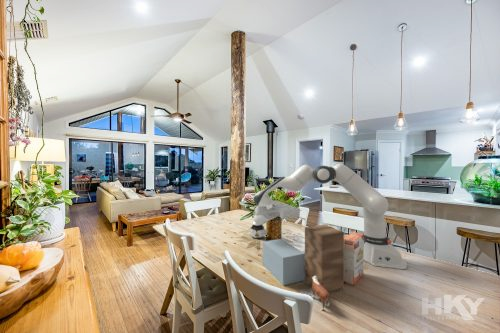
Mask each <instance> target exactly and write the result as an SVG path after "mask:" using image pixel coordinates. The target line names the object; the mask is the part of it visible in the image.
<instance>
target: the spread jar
mask: <svg viewBox="0 0 500 333" xmlns="http://www.w3.org/2000/svg"><path fill="white" fill-rule="evenodd" d="M266 229H267V228H266V227H265V226H264V224H263V225H258V224H256V223H255V222H254V221H253V222H252V226H251V227H250V235H251V237H252V238H253V239H254V240H261V239H263V238H264V237H267V236H266Z"/></svg>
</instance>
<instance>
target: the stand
mask: <svg viewBox="0 0 500 333" xmlns="http://www.w3.org/2000/svg"><path fill="white" fill-rule="evenodd" d="M344 234H345V232H344V231H343V230H340V229H337V228H335V227H333V226H329V225H327V224H322V225H321V224H320V225H314V226H307V227H304V254H305V280H304V282H305V283H306V284H307V285H309V287H311V288H312V281H313V279H310V277H313V276H317V278H318V279H321V280H320V281H319V280H318V282H319V283H320V284H321V285H322V286H323V287H324V288H325V289H326V290H327V292H328V293H329V294H332V293H335V292H339V291H342V290H344V282H343V276H344V238H345V237H344Z"/></svg>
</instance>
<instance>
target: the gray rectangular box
mask: <svg viewBox="0 0 500 333" xmlns="http://www.w3.org/2000/svg"><path fill="white" fill-rule="evenodd" d="M262 266H263V267H265V269H266V270H267V271H269V273H270V274H271V275H272V276H273V278H275V279H276V280H277V281H278V282H279V283H280V284H281V285H282V286H286V285H287V286H288V285H291V284H295V283H299V282H302V281H305V252H303V251H301V250H300V249H298V248H297V247H295V246H294V245H292V244H291V243H289V242H287V241H286V240H285V239H283V238H277V239H271V240H265V241H262Z"/></svg>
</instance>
